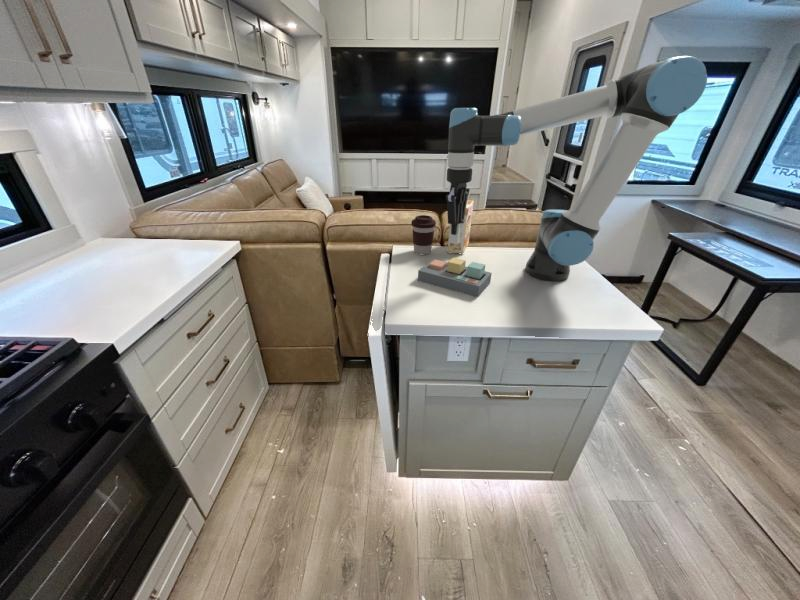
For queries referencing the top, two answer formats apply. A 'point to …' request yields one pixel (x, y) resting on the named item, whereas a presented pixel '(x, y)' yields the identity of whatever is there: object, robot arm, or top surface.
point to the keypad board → (454, 280)
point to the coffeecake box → (462, 231)
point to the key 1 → (438, 265)
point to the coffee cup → (423, 233)
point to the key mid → (456, 265)
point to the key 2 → (475, 270)
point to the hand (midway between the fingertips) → (454, 242)
